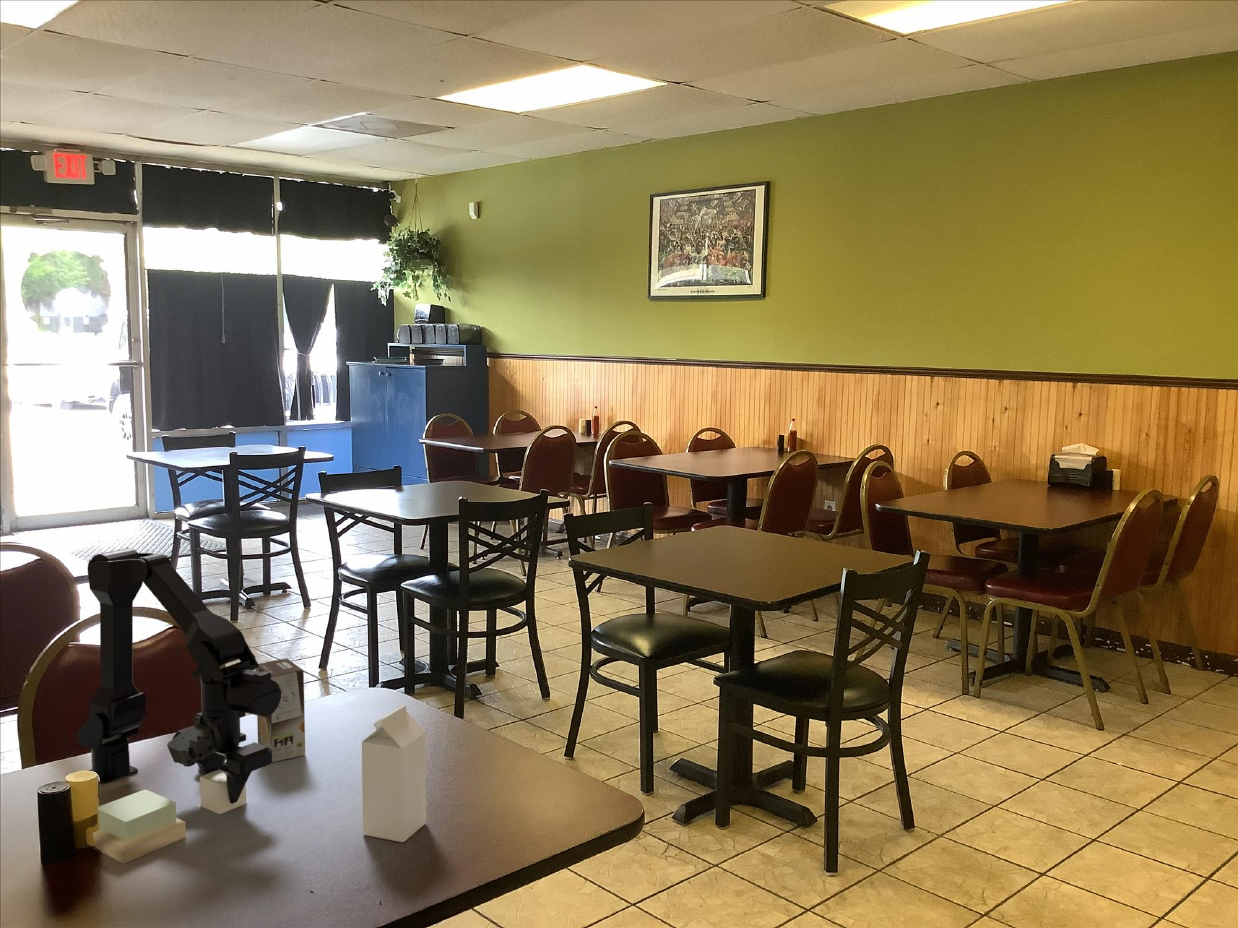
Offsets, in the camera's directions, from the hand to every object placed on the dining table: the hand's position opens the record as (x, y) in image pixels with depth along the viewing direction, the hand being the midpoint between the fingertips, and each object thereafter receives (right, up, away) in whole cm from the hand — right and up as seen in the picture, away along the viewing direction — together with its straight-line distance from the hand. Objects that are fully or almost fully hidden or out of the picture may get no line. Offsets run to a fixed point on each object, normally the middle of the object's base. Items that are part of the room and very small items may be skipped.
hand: (223, 798), depth 170 cm
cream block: (0, -1, 0) cm, 1 cm away
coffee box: (+2, +1, +23) cm, 23 cm away
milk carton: (+30, -3, -8) cm, 31 cm away
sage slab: (-8, 0, -12) cm, 15 cm away
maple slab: (-8, -3, -12) cm, 15 cm away
